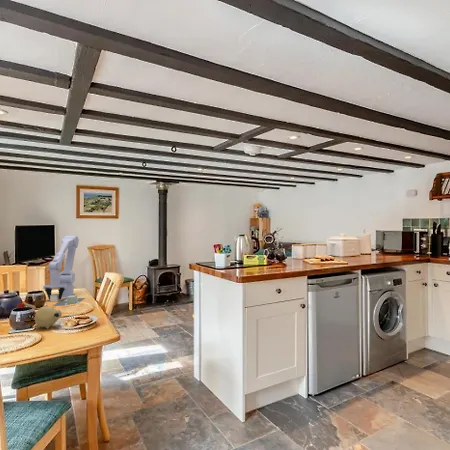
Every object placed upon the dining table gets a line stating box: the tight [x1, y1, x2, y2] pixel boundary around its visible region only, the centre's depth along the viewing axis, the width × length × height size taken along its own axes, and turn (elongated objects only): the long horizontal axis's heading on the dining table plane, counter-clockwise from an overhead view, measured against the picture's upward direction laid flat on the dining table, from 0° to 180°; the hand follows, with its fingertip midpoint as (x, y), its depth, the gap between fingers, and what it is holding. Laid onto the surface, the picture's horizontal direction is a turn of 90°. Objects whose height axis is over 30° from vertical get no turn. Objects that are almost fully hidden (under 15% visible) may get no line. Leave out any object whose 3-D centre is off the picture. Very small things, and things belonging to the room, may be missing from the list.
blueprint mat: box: [52, 297, 86, 307], centre depth 210 cm, size 20×14×1 cm
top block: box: [49, 293, 61, 302], centre depth 213 cm, size 4×4×4 cm
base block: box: [66, 295, 78, 304], centre depth 206 cm, size 4×4×4 cm
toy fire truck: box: [16, 301, 37, 311], centre depth 169 cm, size 3×14×10 cm, turn 84°
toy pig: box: [34, 306, 63, 330], centre depth 159 cm, size 10×12×11 cm
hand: (55, 299), depth 213 cm, fingers open, 6 cm apart
